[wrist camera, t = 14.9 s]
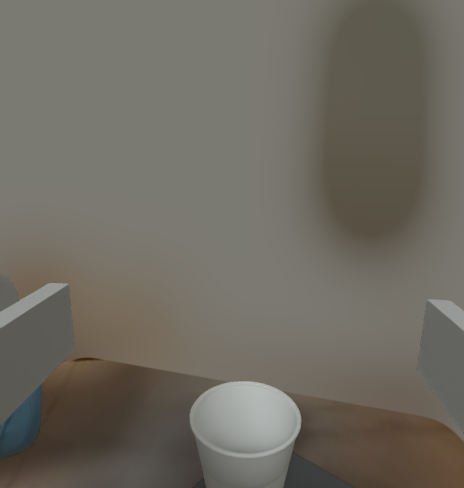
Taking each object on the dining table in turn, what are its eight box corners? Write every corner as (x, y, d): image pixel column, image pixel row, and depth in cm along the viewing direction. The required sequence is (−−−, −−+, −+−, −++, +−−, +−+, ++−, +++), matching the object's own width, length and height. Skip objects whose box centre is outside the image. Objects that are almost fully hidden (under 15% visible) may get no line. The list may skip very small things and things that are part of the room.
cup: (170, 516, 34) (165, 414, 32) (239, 455, 41) (240, 369, 39) (250, 599, 28) (252, 479, 25) (316, 510, 35) (322, 410, 32)
